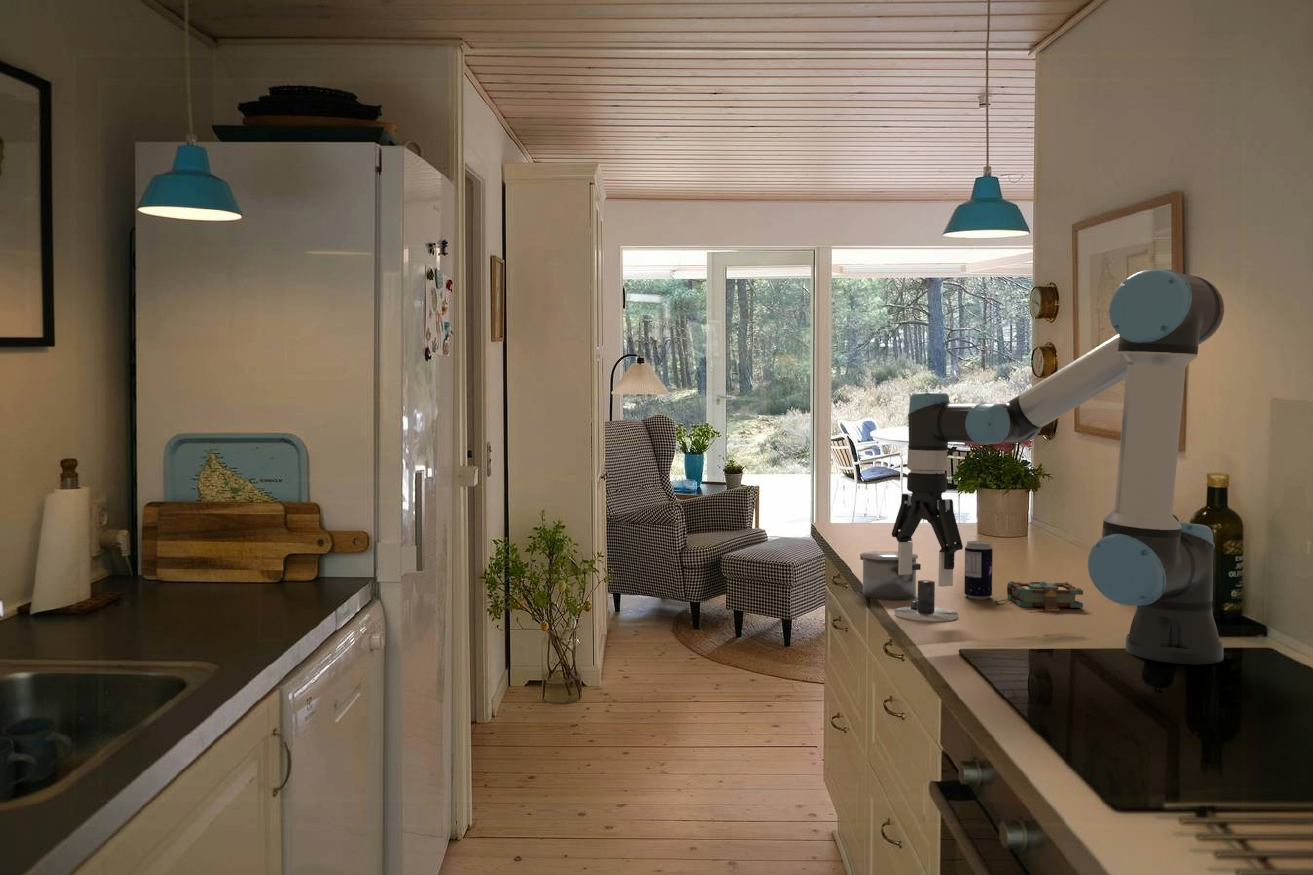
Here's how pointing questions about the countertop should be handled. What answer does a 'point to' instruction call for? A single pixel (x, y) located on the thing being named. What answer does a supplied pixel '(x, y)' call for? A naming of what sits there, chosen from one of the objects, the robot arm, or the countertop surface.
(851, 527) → the countertop surface
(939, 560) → the robot arm
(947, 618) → the lid
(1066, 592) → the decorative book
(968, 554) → the beverage can
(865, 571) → the pot
